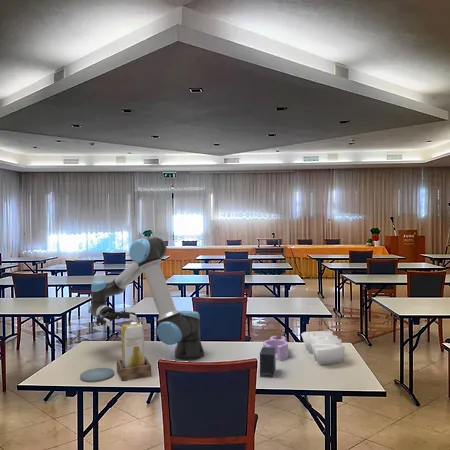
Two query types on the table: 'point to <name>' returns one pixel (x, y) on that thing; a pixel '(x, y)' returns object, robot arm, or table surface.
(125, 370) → the walnut collar
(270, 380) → the table surface
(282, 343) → the lilac desk organizer
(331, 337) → the white wavy slab sculpture
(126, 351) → the juice carton
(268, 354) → the small box
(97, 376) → the rubber coaster
